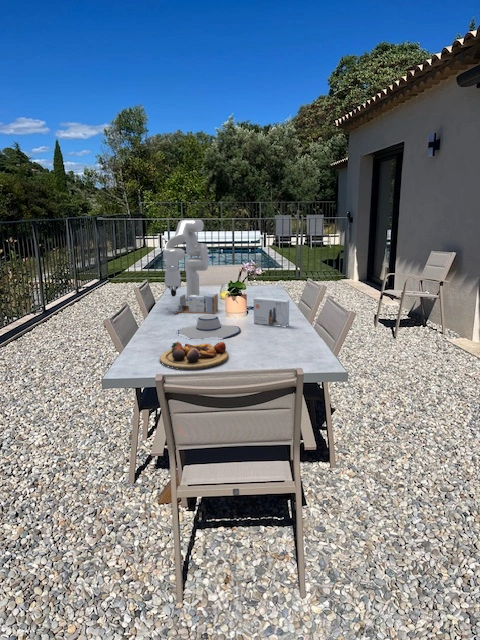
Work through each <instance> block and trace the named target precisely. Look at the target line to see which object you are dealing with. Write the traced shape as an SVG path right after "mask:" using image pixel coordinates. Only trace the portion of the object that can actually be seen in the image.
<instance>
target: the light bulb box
mask: <svg viewBox="0 0 480 640" xmlns="http://www.w3.org/2000/svg"><path fill="white" fill-rule="evenodd" d="M206 296H207V295H206V294H200V295H190V296H189V297H188V300H187V301H188V302H187V303H188V306H189V312H201V313H204V312H205V311H206Z"/></svg>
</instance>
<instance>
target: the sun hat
mask: <svg viewBox="0 0 480 640" xmlns="http://www.w3.org/2000/svg"><path fill="white" fill-rule="evenodd" d="M197 319H198V320H197V322H196V325H193V326H192V325H190V326H186V327H182V329H181V328H179V329H180V330H179V329H177V331H178V334H182V335H185V336H187V337H188V338H190V339H189V340H191V339H202V338H210V337H218V338H225V339H227V338H230V337H232V336H235V335H237V334H239V333H240V332H241V331H242V330H241V327H239V326H237V325H227V326H226V324H223V323H221V320H220V319H219V317H218V316H217V315H215V314H204V315H202V316H199V317H198V318H197ZM222 324H223V325H222Z"/></svg>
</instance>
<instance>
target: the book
mask: <svg viewBox="0 0 480 640" xmlns="http://www.w3.org/2000/svg"><path fill="white" fill-rule="evenodd" d="M215 294H216V293H208V294H207V295H206V313H213V311H212V297H213V296H214V295H215Z"/></svg>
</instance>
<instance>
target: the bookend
mask: <svg viewBox="0 0 480 640" xmlns="http://www.w3.org/2000/svg"><path fill="white" fill-rule="evenodd" d="M186 301H187V300H186V294H182V295H181V296H179V305H180V309H179V308H178V309H177V310H178V311H177V310H176V311H177V312H183V311H184V310H186V306H187V304H186Z"/></svg>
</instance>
